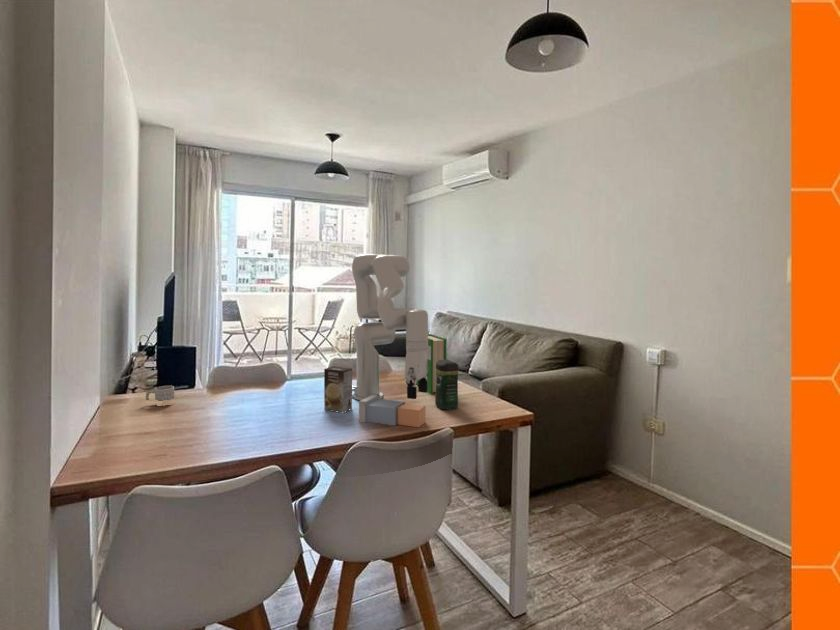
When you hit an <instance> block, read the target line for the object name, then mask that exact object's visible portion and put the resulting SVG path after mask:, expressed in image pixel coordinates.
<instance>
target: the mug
mask: <svg viewBox="0 0 840 630" xmlns="http://www.w3.org/2000/svg"><path fill="white" fill-rule="evenodd" d="M145 392H146V393H145V401H146V400H150V398H149V395H150V394H154V400H158V401H164V400H171V399H174V398H175V386H174V385H162V386H158V387H155V388H154V389H152V390H148V391H145Z"/></svg>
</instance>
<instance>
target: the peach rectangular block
mask: <svg viewBox="0 0 840 630" xmlns="http://www.w3.org/2000/svg"><path fill="white" fill-rule="evenodd" d="M425 423H426V405H424V404H423V405H422V404H416V403H404V404H403V405H401V406H399V407H398V424H397V425H399V426H400V425H401V426H406V427H414V428H420V427H421V426H422V425H424V424H425Z"/></svg>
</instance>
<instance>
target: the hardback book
mask: <svg viewBox="0 0 840 630" xmlns="http://www.w3.org/2000/svg"><path fill="white" fill-rule="evenodd" d="M447 339H448V338H445V337H443V336H439V335H435V334H432V333H428V350H427V362H428V375H427V392H426V393H428V394H429V395H433V393H436V363H437V362H438V361H439V360H447V350H448V349H447V344H448V341H447ZM418 381H420V380H417V382H416V385H417V386H416V387H418Z"/></svg>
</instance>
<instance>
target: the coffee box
mask: <svg viewBox="0 0 840 630" xmlns="http://www.w3.org/2000/svg"><path fill="white" fill-rule="evenodd" d="M323 372H324V379H323V380H324V381H323V382H324V384H323V386H324V387H323V388H324V393H323V395H324V396H323V397H324V399H323V400H324V401H323V402H324V408H323V409H327V410H326V411H329V410H333V411H332V412H334V411H338V412H337V413H340V412H344V413H346V412H345V411H347V410H349V409H351V410H352V409H353V391H352V386H353V368H350V367H343V366H337V365H335V366H334V365H333V366H329V367H327V368H324V370H323ZM349 411H350V410H349ZM347 412H348V411H347Z"/></svg>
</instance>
